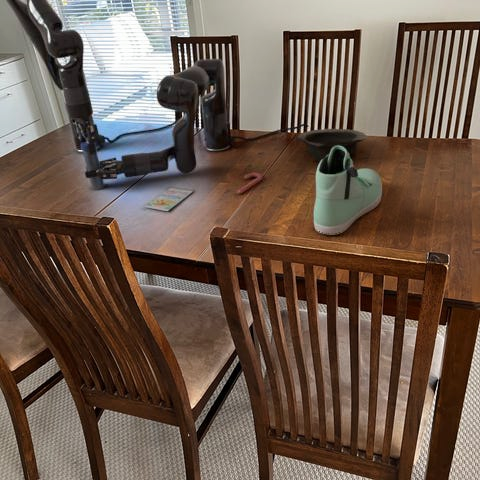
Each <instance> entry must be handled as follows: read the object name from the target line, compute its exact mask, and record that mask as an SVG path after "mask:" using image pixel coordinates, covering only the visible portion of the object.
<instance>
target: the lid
mask: <svg viewBox="0 0 480 480" xmlns="http://www.w3.org/2000/svg"><path fill="white" fill-rule="evenodd" d="M80 145H81V149H82V150H83V151H89V150H88V146H87V142H83V143H81V144H80ZM95 148H96V143H95Z"/></svg>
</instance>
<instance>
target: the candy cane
mask: <svg viewBox="0 0 480 480" xmlns="http://www.w3.org/2000/svg"><path fill="white" fill-rule="evenodd" d="M250 178H254V179H252V180H251V181H250V182H248V183H247V184H246V185H244V186H242V187H241V188H239V189H238V190H237V191H236V194H237V195H241V194H243V193H244V192H246V191H247V190H249V189H250V188H252V187H253V186H254V185H256V184H258V183H259V182H261V181H262V180H263V174H261V173H259V172H249V173H247V174H245V175H244V180H248V179H250Z"/></svg>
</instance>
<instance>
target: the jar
mask: <svg viewBox="0 0 480 480" xmlns="http://www.w3.org/2000/svg"><path fill="white" fill-rule="evenodd" d="M96 152H97V153H96V154H94V155H90V154H89V151H83V153H82V154H83V158H84V162H85V167H86V166H87V170H88V171H91V170H98V169H101V168H100V163H99V161H100V159H99V154H98V151H97V150H96ZM87 170H86V171H87ZM89 182H90V187H91V189H92V190H95V191H97V190H102V189H104V188H105V187H106V186H105V180H104V179H100V178H98V177H92V178H89Z"/></svg>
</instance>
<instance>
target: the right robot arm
mask: <svg viewBox="0 0 480 480" xmlns="http://www.w3.org/2000/svg"><path fill="white" fill-rule="evenodd" d="M225 78H226V77H225V65H224V62H223V60H222V59H221V58H206V59H199V60H196V61H195V62H194V63H193V65H191V66H189V67H187V68H185V69H183V70H182V71H180V72H178V73H175V74H169V75H165V76H164V77H163V78H162V79H161V80H160V81H159V83H158V85H157V88H156V100H157V103H158V104H159V106H161V107H162V108H164V109H166V110H171V111H174V112H179V113H183V114H184V115H183V116H182V117H180V118H181V119H180V120H179V121H178V122H177V123H176V124H174V125H173V127H172V131H171V138H172V145H171V146H169V147H167V148H165V149H162V150H158V151H151V152H138V153H131V154H123V155H121V158H120V159H121V160H118V159H117V157H111V158H107V159H103V160H99V163H100V168H101V169H98V170H91V171H88V170H87V166H86V165H85V169H86V170H85V171H84V175H85V178H86V179H90V178H92V177H98V178H100V179H103V180H117V179H118V176H119V175H123V174H124V177H125V178H133V177H134V178H135V177H140V176H146V175H149V174H154V173H155V174H156V173H163V172H166V171H168V170H169V167H170V165H169V164H170V162H171V161H173V160H174V163H175V166H176V170H178V172H179V173H181V174H191V173H193V172H194V171H195V169H196V167H197V157H196V151H195V150H196V149H195V125H196V118H197V110H198V100H199V97H200V105H201V112H202V121H203V130H204V139H203V140H204V142H205V149H206V150H207V151H209V152H214V153H215V152H223V151H226V150H229V149H230V147H232V145H233V143H234V142H235V140H236V139H240V140H243V141H246V142H247V141H248V142H249V141H255V140H258V139H261V138H264V137H268V136H271V135H274V134H277V133H280V132H285V131H291V130H296V129H297V130H298V129H300V128H302V127H306V128H309V125H308V124H306V123H301V124H299V125H297V126H293V127H286V128H282V129H281V128H280V129H277V130H274V131H271V132H268V133H265V134H261V135H258V136H255V137H250V138H246V137H243V136H238V135H234V134H232V132H231V123H230V122H229V121H228V111H227V100H226V98H227V97H226V81H225ZM209 87H215V88H214V90H212V91H211V92H209V93H207V94H204V93H206V91H207V90H208V88H209ZM203 94H204V95H203ZM202 95H203V96H202ZM201 96H202V97H201Z"/></svg>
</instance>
